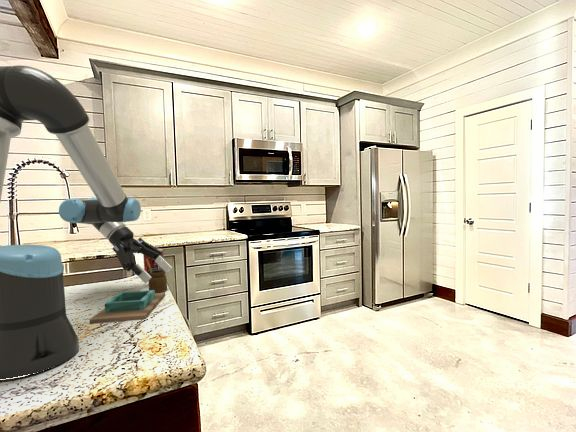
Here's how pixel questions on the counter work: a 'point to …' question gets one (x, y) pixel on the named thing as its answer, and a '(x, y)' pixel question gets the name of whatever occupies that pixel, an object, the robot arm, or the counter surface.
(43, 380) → the counter surface
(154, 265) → the canned food
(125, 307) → the cradle jig
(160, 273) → the utensil holder
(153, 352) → the counter surface
